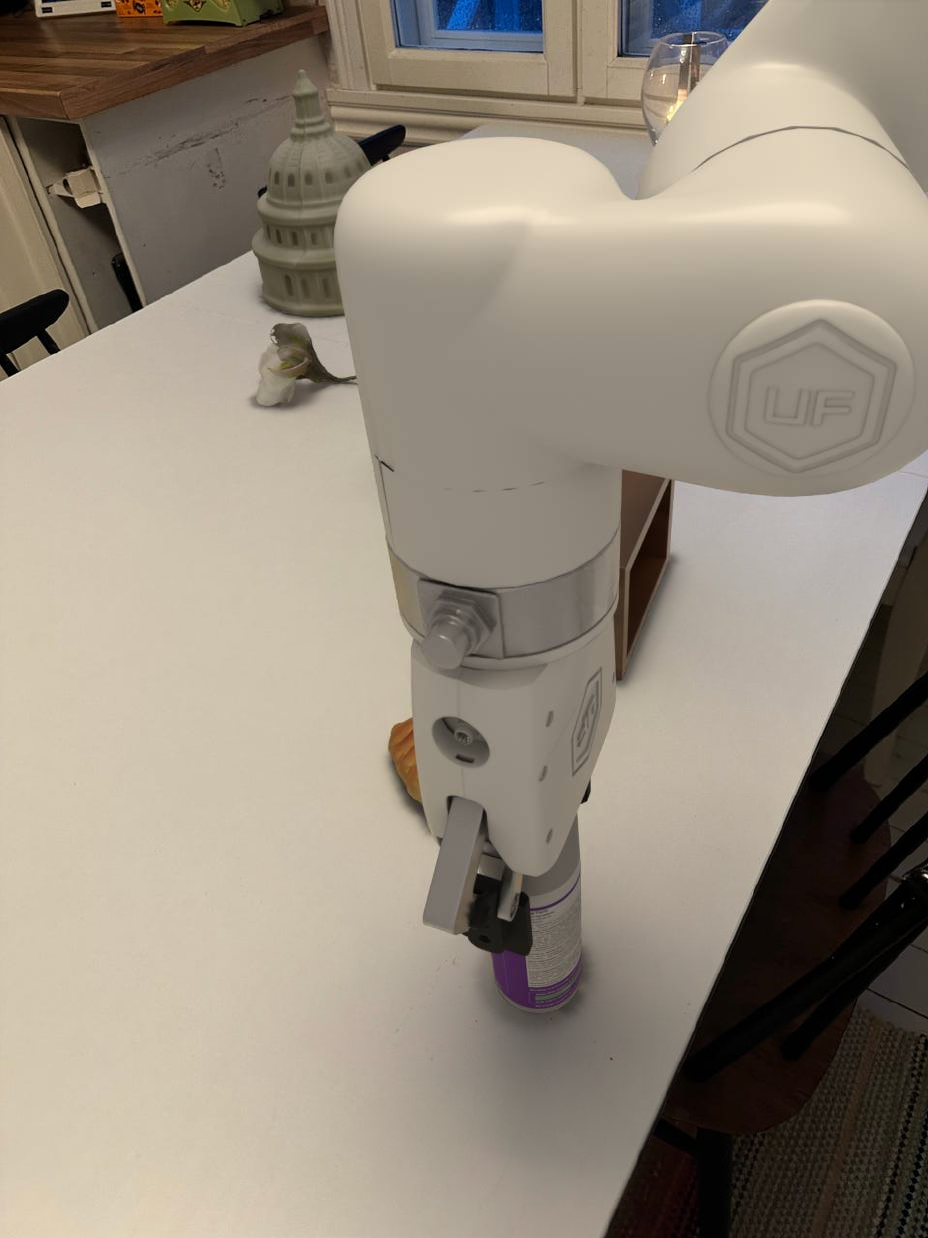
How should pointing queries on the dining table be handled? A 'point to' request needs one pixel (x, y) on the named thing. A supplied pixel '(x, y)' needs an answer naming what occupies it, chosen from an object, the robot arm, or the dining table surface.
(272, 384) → the artificial flower
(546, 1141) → the dining table surface
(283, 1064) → the dining table surface
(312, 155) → the dome
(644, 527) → the shelf
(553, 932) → the container
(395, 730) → the pastry
